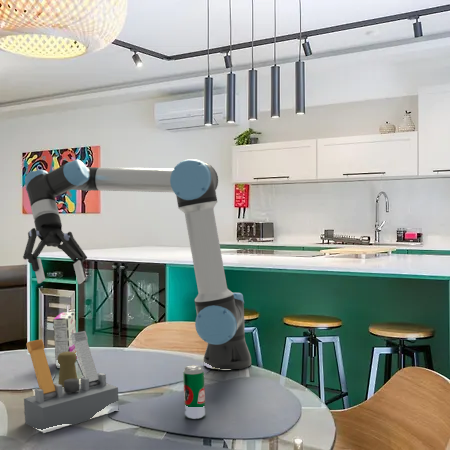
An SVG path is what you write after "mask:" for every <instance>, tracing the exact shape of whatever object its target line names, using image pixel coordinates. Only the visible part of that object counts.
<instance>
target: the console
mask: <svg viewBox="0 0 450 450" xmlns="http://www.w3.org/2000/svg"><path fill="white" fill-rule="evenodd" d="M97 374H98V377H99V381H100V385H97V386H93V387H89V379H88V378H86V377H84V376H81V377H80V379H79V380H80V383H79V391H77V392H72V393H67V392H64V388H63V389H62V385H60V384H58V382H57V383H54V387H55V392H56V394H57V395H56V396H55V397H51V398H48V399H44V395H43V390H42V389H40V388H39V387H38V388H35V389H34V395H32V396H28V397H24V398H23V405H24V406H23V407H24V423H25V424H26V425H28V426H30V428H33V427H34V428H33V429H35V428H37V429H41V430H43V429H46V428H49V427H53V426H57V425H62V424H72V425H71V426H75V425H78V424H81V423H84V422H88V421H90V420H89V419H90V418H92V417H93V416H94V415H95V414H96V413H97V412H99V411H101V410H102V409H104V408H105V407H106V406H108V405H109V404H111V403H114V402H116V401H119V400H120V399H119V387H118V386H115V385H113V384H111V383H107V376H106V375H107V374H105V373H103V372H99V373H98V372H97ZM87 420H88V421H87Z"/></svg>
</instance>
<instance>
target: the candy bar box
mask: <svg viewBox="0 0 450 450" xmlns="http://www.w3.org/2000/svg"><path fill="white" fill-rule="evenodd" d="M52 321H53V322H52V325H53V338H54V351H55V352H54V353H55V355H54V357H55V361H56V360H58V355H59V354H60V353H62V352H74V353H76V349H75V346H74V344H73V343H72V339H71V336H70V335H71V334H72V333H77V331H76V329H77V328H76V312H74V311H67V312H64V311H63V312H60V313H59V314H58V315H56V317H54V318H53V319H52Z"/></svg>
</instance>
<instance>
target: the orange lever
mask: <svg viewBox="0 0 450 450" xmlns="http://www.w3.org/2000/svg"><path fill="white" fill-rule="evenodd" d="M25 345H26V348H27V353H29V356H30V359H31V363H32V366H33V369H34V373H35V377H36V380H37V384H38V388H40V389H42V390H43V395H44V399H48V398H51V397H55V396H56V395H57V394H56V392H55V387H54V384H55V383H54V381H53V377H52V373H51V370H50V369H51V368H50V366H49V363H48V359H47V356H46V352H45V349H46V348H45V343H44V341H43V339H42V338H41V339H36V340H29V341H28V342H26V344H25Z"/></svg>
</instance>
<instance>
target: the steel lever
mask: <svg viewBox="0 0 450 450" xmlns="http://www.w3.org/2000/svg"><path fill="white" fill-rule="evenodd" d="M70 336H71V339H72V343H73V344H74V346H75V349H76V352H77V360H78V361H79V365H80V368H81V372H82V375H83V377H86V378H88V379H89V387H93V386H97V385H100V381H99V377H98V374H97V373H98V371H97V367H96V365H95V362H94V358H93V355H92V352H91V349H90V346H89V343H88V339H89V338H88V336H87V332H86V330H83V331H78V332H77V331H76V333H72V334H71V335H70Z"/></svg>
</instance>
